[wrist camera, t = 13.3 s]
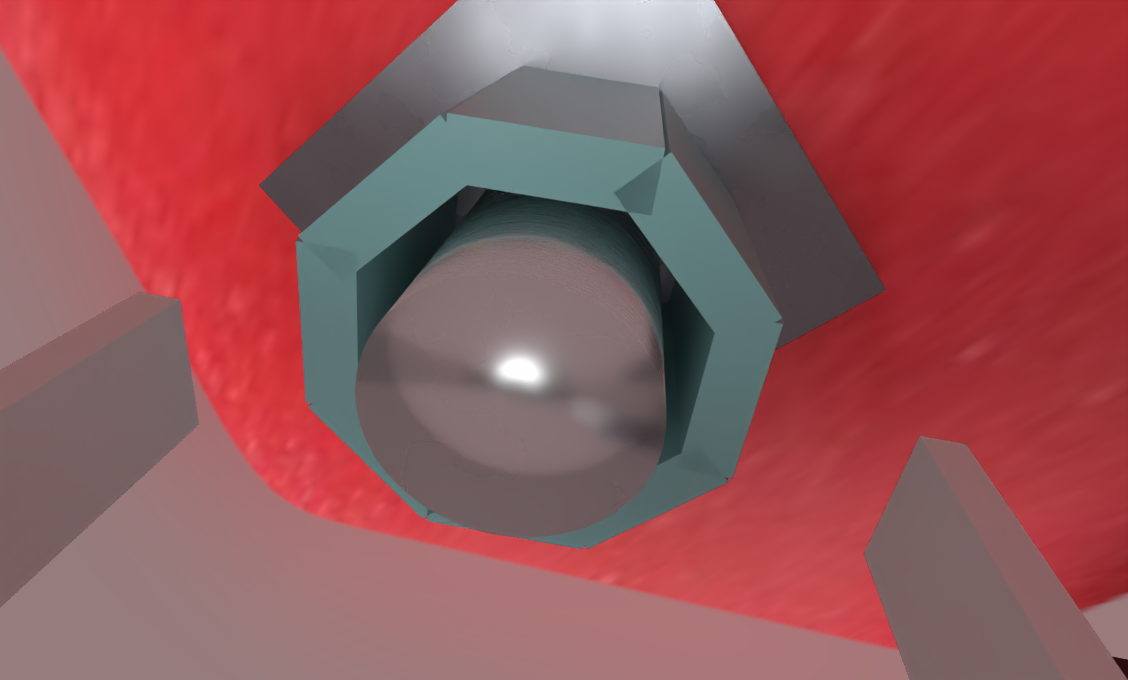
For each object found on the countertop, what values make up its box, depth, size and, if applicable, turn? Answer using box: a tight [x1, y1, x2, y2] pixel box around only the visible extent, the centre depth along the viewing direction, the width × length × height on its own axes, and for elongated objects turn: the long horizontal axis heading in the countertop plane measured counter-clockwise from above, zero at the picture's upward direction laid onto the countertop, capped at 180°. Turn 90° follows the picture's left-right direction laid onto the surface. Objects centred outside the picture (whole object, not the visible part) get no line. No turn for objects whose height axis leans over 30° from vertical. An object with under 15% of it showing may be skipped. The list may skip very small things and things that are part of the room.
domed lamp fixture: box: [259, 0, 886, 537], centre depth 17 cm, size 14×14×11 cm
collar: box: [296, 66, 783, 549], centre depth 17 cm, size 10×10×8 cm
